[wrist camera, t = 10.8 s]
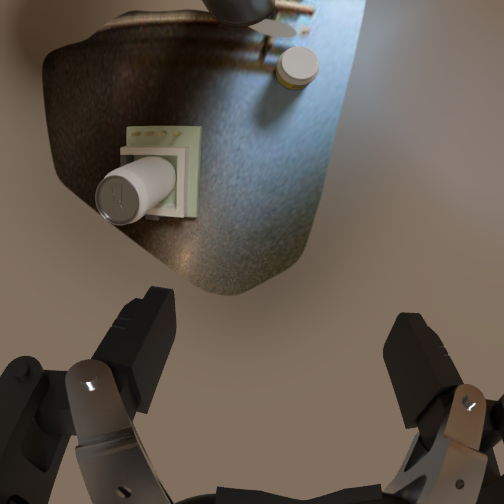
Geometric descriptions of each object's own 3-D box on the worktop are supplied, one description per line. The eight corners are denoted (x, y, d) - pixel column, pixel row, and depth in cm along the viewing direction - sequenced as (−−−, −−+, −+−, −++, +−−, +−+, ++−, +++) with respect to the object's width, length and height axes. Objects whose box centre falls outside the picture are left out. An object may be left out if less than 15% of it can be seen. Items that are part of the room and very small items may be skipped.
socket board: (130, 126, 37) (118, 128, 33) (202, 126, 36) (195, 127, 33) (131, 209, 42) (121, 217, 39) (198, 214, 42) (192, 223, 39)
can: (137, 197, 40) (95, 227, 30) (135, 154, 37) (89, 172, 27) (177, 199, 40) (144, 230, 29) (177, 154, 37) (141, 170, 26)
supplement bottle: (290, 97, 34) (295, 91, 26) (268, 70, 32) (267, 57, 25) (319, 78, 32) (331, 68, 25) (297, 51, 31) (303, 35, 23)
